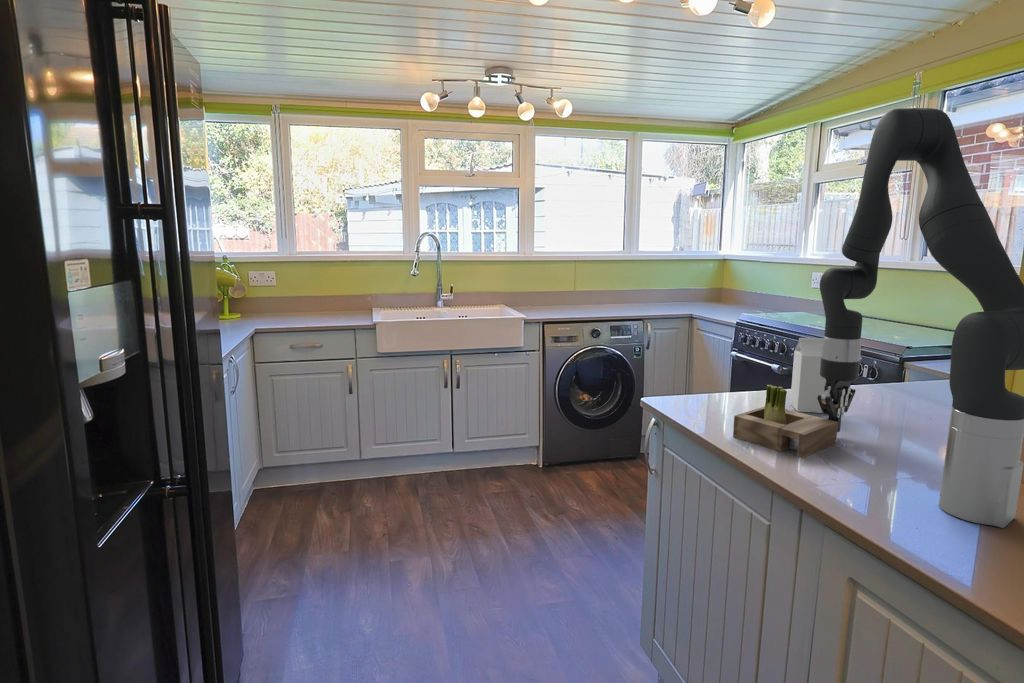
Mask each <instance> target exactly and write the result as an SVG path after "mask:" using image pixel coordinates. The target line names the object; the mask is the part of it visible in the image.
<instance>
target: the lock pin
mask: <svg viewBox="0 0 1024 683" xmlns="http://www.w3.org/2000/svg"><path fill="white" fill-rule="evenodd" d="M837 428H838V424H837ZM837 436H838V433H837V434H836V439H837V438H838V437H837ZM798 445H799V440H797V439H794V438H790V447H789V448H788V449H790V450H791V449H792V450H795V451H797V452H798Z"/></svg>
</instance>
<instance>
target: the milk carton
mask: <svg viewBox="0 0 1024 683" xmlns="http://www.w3.org/2000/svg"><path fill="white" fill-rule="evenodd" d="M823 340H824V337H823V338H820V337H819V338H815V337H799V338H798V342H797V344H796V346H795V348H794V351H793V364H792V365H793V366H792V375H791V376H792V377H791V389H790V401H789V404H790V406H792V407H793V409H795V411H796V412H799V413H822V414H823V412H822V409H821V407H820V404H819V402H818V399H817V398H818V395H823V394H824V386H825V383H826V379H825V378H823V377H821V376H820V365H821V353H822V344H823Z"/></svg>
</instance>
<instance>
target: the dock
mask: <svg viewBox="0 0 1024 683" xmlns="http://www.w3.org/2000/svg"><path fill="white" fill-rule="evenodd" d="M764 410H765V405H764V406H762V407H758V408H755V409H752V410H751V409H750V410H748V411H745V412H743V413H738V414H735V415H734V416H733V417H734V418H733V432H732V433H733V434H732V437H733V438H736V439H739V440H742V441H745V440H746V442H748V441H749V443H751V444H755V443H756V444H755V445H758V444H759V446H762V447H765V448H769V449H770V450H771V449H772V450H775V451H779V452H784V451H785V450H788V449H790V448H789V447H790V438H794V439H797V440H799V445H798V451H797V457H798V458H801V459H804V458H806V457H807V456H810V455H813V454H815V453H817V452H820V451H822V450H824V449H826V447H827V448H829V447H831V446H833V445H832V444H834V445H835V443H836V444H837V442H836V441H837V438H836V434H837V435H838V432H837V424H838V422H836V421H832V420H828V418H823V417H819V416H815V415H812V414H808V413H804V412H798V411H796V410H795V411H794V410H790V409H786V408H785V416H786V425H784V424H780V423H776V422H773V421H769V420H765V419H764ZM830 445H831V446H830ZM828 446H829V447H828ZM823 448H824V449H823ZM821 449H822V450H821ZM819 450H820V451H819Z"/></svg>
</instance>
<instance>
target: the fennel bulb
mask: <svg viewBox="0 0 1024 683" xmlns="http://www.w3.org/2000/svg"><path fill="white" fill-rule="evenodd" d="M765 390H766V391H765V393H766V394H765V404H764V406H765V410H764V419H765V420H769V421H773V422H776V423H780V424H784V425H786V416H785V409H786V402H787V400H786V399H787V389H784V388H783V386H776V385H775V386H774V385H772V384H767V385H766V388H765Z"/></svg>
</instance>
